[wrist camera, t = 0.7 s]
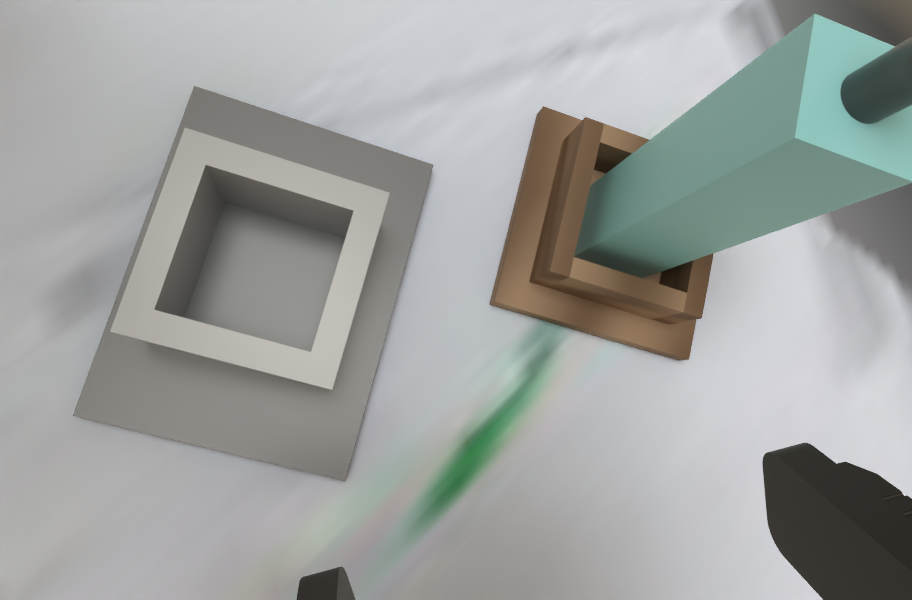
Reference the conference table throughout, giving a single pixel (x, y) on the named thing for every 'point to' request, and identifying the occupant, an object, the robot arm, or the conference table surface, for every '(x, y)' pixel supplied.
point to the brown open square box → (555, 239)
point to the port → (259, 289)
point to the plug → (760, 153)
